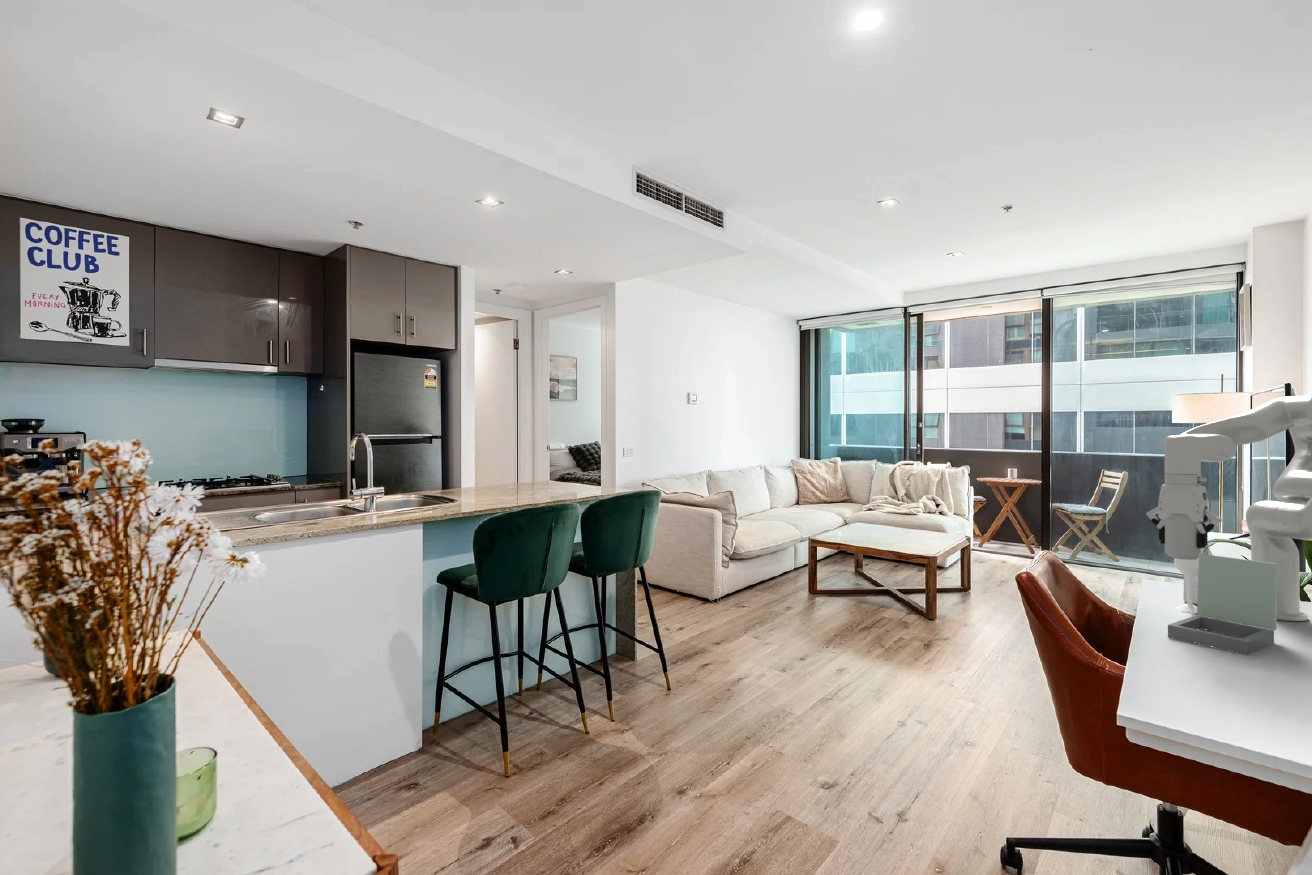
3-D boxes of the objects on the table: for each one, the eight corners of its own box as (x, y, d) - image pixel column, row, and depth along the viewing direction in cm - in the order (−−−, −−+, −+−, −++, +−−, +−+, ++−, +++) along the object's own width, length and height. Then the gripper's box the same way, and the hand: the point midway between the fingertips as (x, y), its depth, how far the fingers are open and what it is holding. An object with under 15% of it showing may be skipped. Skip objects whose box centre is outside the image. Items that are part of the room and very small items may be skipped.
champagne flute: (1202, 609, 179) (1202, 525, 179) (1207, 615, 173) (1207, 528, 173) (1172, 605, 183) (1172, 524, 182) (1176, 611, 177) (1176, 527, 177)
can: (1202, 561, 164) (1202, 516, 164) (1165, 558, 169) (1165, 514, 169) (1199, 556, 170) (1199, 513, 170) (1164, 553, 175) (1164, 511, 175)
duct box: (1196, 626, 163) (1196, 615, 163) (1273, 642, 150) (1273, 630, 150) (1167, 636, 156) (1167, 624, 156) (1246, 655, 142) (1246, 641, 142)
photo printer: (1230, 609, 179) (1230, 566, 179) (1220, 610, 177) (1220, 567, 177) (1190, 600, 188) (1190, 559, 188) (1180, 601, 187) (1180, 560, 187)
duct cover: (1196, 614, 164) (1199, 614, 164) (1274, 630, 150) (1276, 630, 151) (1199, 553, 164) (1201, 553, 165) (1276, 563, 151) (1278, 563, 152)
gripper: (1229, 482, 164) (1229, 549, 164) (1151, 478, 179) (1151, 539, 179) (1217, 483, 160) (1217, 551, 160) (1138, 479, 175) (1138, 541, 175)
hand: (1182, 544), depth 169 cm, fingers closed on can, 7 cm apart
